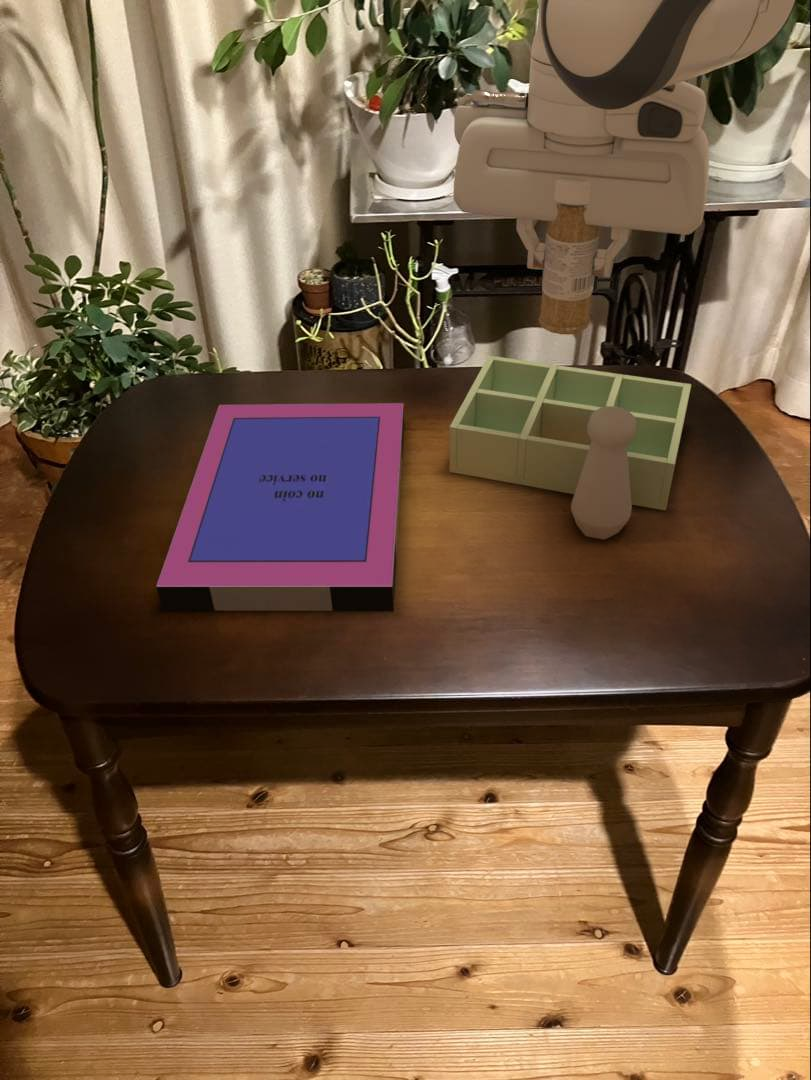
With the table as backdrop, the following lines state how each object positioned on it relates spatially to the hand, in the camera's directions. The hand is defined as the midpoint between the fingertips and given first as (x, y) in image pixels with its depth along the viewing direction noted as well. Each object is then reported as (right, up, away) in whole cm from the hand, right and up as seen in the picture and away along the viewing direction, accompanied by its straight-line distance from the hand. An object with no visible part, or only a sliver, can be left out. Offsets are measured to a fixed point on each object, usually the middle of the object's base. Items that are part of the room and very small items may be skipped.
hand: (569, 270), depth 78 cm
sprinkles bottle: (0, -4, +4) cm, 5 cm away
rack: (+4, -13, +22) cm, 26 cm away
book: (-25, -20, +16) cm, 36 cm away
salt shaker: (+5, -22, +12) cm, 26 cm away
